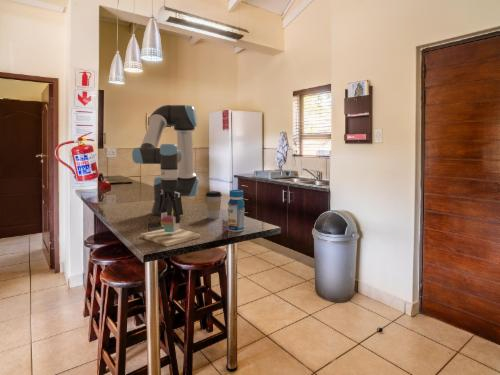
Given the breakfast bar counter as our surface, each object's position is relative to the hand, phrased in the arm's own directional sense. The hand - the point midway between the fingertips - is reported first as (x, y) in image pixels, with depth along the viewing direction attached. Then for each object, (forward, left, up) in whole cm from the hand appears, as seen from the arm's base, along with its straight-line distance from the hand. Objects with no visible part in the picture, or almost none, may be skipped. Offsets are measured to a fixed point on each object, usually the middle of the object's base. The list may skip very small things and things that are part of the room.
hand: (170, 228), depth 148 cm
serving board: (0, 0, -4) cm, 4 cm away
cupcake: (0, 0, -2) cm, 2 cm away
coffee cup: (-15, +41, -4) cm, 44 cm away
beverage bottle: (+13, +30, -4) cm, 33 cm away
